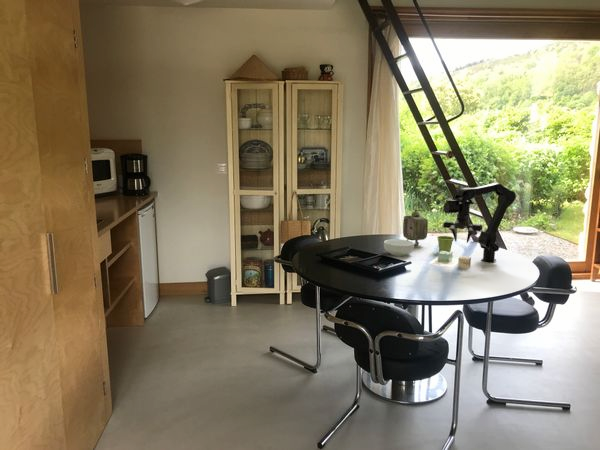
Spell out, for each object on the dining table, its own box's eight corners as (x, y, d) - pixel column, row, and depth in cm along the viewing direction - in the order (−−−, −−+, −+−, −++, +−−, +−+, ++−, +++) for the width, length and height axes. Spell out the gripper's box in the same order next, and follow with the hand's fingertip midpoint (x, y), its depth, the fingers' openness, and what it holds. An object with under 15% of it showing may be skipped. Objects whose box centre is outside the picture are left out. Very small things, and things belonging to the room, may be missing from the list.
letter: (437, 256, 266) (437, 256, 266) (461, 259, 259) (461, 259, 259) (427, 263, 251) (427, 263, 251) (453, 267, 244) (453, 267, 244)
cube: (460, 265, 249) (461, 255, 248) (470, 266, 246) (471, 257, 245) (457, 267, 244) (458, 258, 244) (468, 269, 242) (468, 259, 241)
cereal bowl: (405, 259, 259) (406, 246, 258) (378, 255, 269) (378, 242, 268) (418, 253, 272) (419, 241, 271) (391, 249, 282) (392, 237, 281)
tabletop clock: (402, 242, 300) (404, 202, 296) (415, 241, 303) (417, 202, 299) (414, 247, 287) (416, 206, 282) (427, 246, 290) (429, 205, 285)
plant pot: (456, 253, 273) (457, 238, 272) (443, 254, 270) (444, 239, 268) (446, 249, 282) (447, 235, 280) (432, 251, 278) (433, 236, 277)
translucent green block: (440, 258, 262) (441, 250, 262) (452, 259, 259) (452, 252, 258) (437, 260, 257) (437, 253, 256) (449, 262, 254) (449, 254, 253)
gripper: (441, 213, 247) (439, 242, 250) (479, 216, 238) (476, 247, 240) (446, 210, 256) (445, 239, 259) (483, 213, 247) (481, 243, 250)
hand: (461, 242), depth 252 cm, fingers open, 6 cm apart
